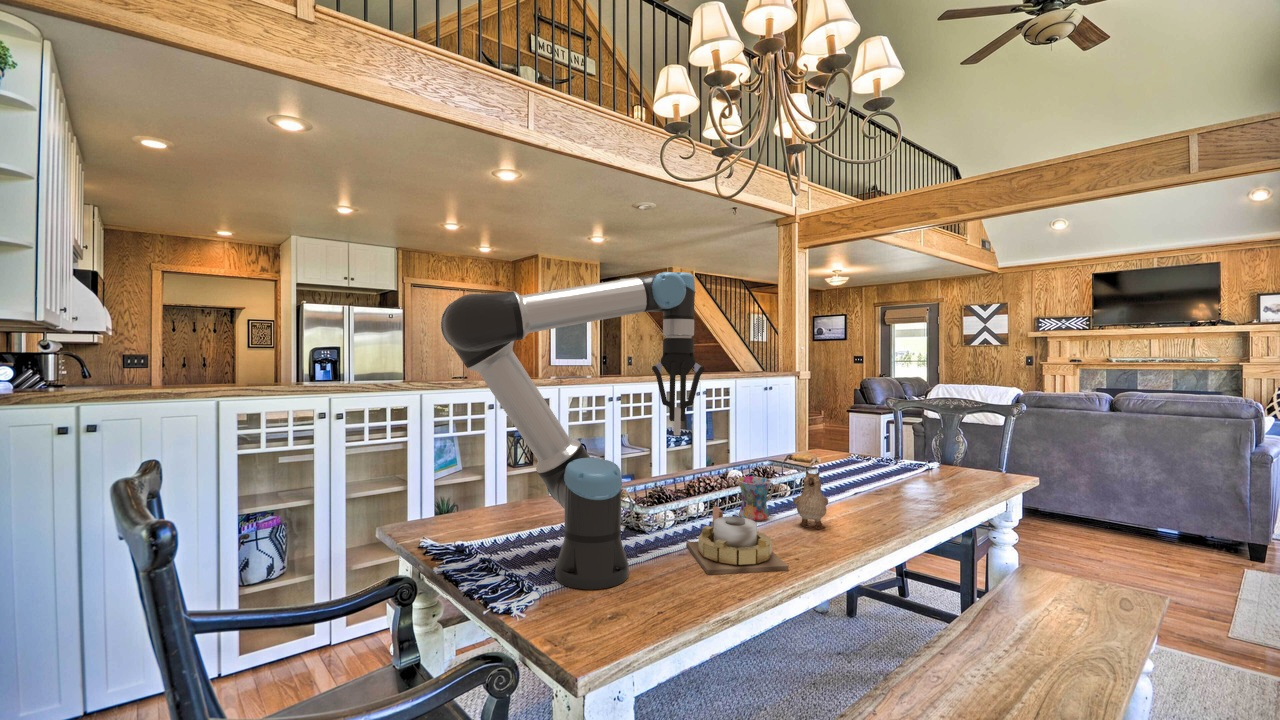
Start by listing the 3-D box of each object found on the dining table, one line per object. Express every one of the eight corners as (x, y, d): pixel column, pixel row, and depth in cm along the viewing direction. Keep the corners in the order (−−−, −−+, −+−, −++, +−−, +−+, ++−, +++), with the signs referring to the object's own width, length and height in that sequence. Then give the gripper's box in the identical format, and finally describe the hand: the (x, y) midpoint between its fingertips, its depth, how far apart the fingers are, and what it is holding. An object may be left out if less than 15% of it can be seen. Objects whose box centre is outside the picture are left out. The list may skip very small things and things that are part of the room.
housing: (707, 574, 125) (708, 533, 125) (685, 545, 144) (686, 508, 144) (788, 570, 129) (789, 529, 128) (756, 541, 147) (757, 506, 147)
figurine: (791, 529, 157) (793, 473, 157) (793, 519, 166) (794, 466, 166) (828, 533, 154) (829, 475, 154) (827, 522, 164) (828, 468, 163)
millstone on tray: (782, 562, 129) (782, 534, 129) (711, 566, 127) (711, 537, 126) (744, 529, 152) (744, 505, 152) (683, 531, 150) (684, 507, 149)
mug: (753, 524, 161) (753, 485, 161) (730, 516, 169) (730, 478, 169) (784, 518, 168) (785, 480, 167) (761, 510, 175) (762, 474, 175)
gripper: (703, 337, 148) (702, 432, 149) (651, 337, 148) (649, 431, 149) (707, 337, 141) (705, 437, 141) (651, 336, 141) (650, 436, 141)
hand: (676, 434), depth 145 cm, fingers closed
